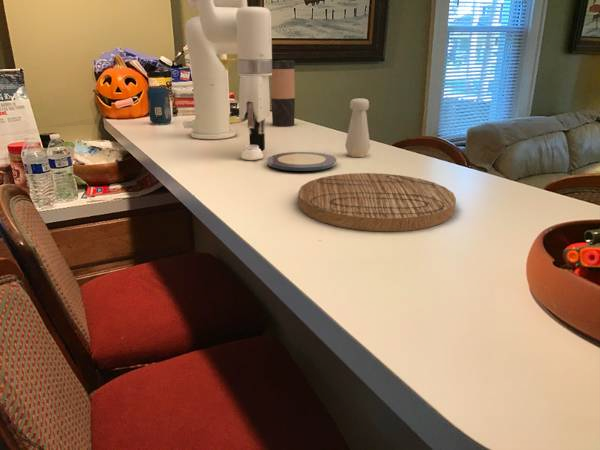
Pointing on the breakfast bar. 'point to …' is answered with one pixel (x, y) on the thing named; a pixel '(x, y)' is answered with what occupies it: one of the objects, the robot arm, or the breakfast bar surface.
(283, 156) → the plate
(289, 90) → the travel mug
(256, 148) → the white jar
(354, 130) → the salt shaker
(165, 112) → the soda can
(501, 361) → the breakfast bar surface
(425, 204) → the trivet
